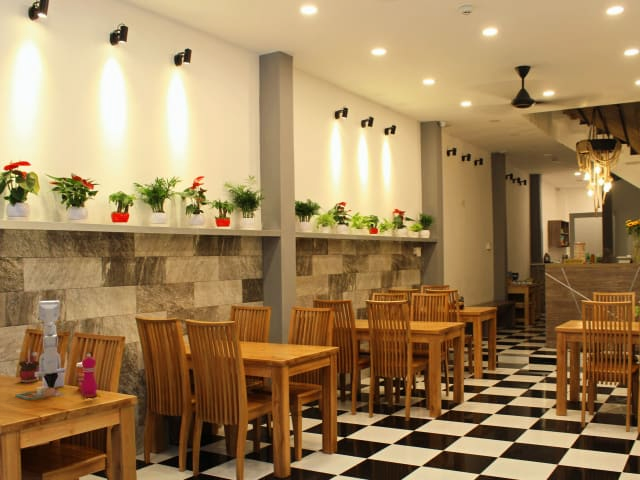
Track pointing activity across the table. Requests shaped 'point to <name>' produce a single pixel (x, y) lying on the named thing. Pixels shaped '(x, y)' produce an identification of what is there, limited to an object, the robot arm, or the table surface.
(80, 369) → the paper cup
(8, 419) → the table surface
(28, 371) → the cake
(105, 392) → the table surface
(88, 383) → the pepper mill
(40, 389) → the tile cream
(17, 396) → the box
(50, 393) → the terracotta block
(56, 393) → the plate
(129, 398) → the table surface
